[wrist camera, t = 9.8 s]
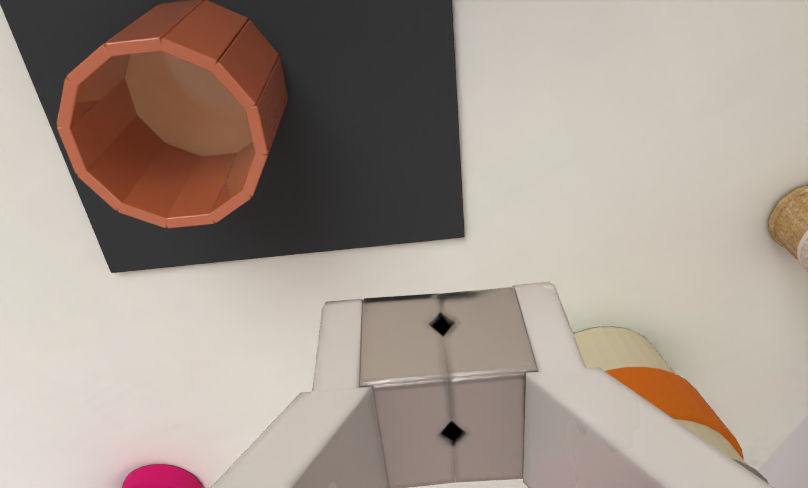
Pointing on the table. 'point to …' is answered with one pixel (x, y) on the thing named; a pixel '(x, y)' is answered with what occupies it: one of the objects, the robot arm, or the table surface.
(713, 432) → the reusable coffee cup
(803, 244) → the spice jar
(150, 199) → the cup
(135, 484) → the pepper mill
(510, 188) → the table surface
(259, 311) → the table surface
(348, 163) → the mat
